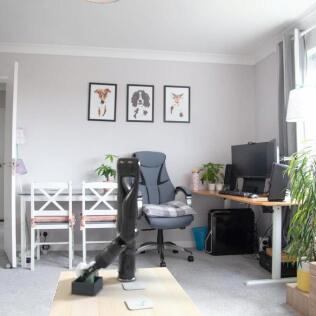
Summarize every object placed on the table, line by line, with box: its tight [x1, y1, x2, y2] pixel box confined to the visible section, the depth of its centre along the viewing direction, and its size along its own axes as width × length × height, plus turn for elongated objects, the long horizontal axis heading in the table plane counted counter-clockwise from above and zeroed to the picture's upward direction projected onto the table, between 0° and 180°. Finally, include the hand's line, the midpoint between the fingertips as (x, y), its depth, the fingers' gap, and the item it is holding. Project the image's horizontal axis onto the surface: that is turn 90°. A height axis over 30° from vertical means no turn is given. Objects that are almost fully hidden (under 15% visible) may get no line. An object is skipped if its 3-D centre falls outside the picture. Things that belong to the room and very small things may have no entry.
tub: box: [70, 275, 104, 297], centre depth 169 cm, size 12×12×6 cm
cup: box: [81, 268, 94, 284], centre depth 169 cm, size 6×6×9 cm
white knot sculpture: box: [75, 260, 100, 278], centre depth 186 cm, size 11×12×9 cm
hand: (84, 278), depth 170 cm, fingers closed on cup, 6 cm apart
